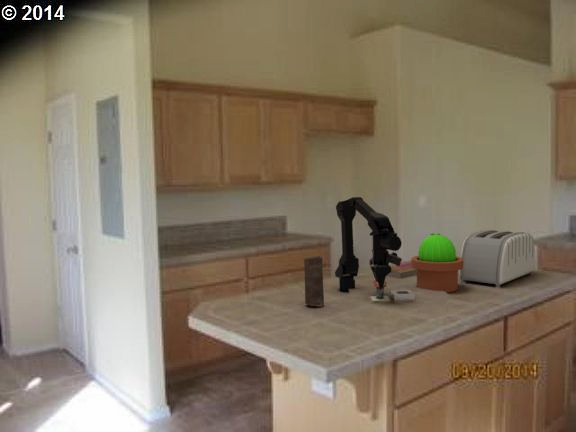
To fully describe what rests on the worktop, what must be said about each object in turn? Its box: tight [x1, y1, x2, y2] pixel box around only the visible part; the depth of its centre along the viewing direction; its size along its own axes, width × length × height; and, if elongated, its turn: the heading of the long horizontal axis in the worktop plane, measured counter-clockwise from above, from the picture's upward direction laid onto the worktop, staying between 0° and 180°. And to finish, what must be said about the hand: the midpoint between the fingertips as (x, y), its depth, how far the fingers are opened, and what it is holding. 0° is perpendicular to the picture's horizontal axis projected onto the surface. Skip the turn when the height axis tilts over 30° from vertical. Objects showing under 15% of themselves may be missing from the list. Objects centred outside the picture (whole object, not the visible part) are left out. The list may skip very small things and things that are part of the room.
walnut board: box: [366, 294, 418, 304], centre depth 215 cm, size 18×13×2 cm
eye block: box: [390, 289, 416, 301], centre depth 215 cm, size 8×8×2 cm
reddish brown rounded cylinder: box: [372, 279, 387, 299], centre depth 215 cm, size 5×5×7 cm
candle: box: [303, 255, 325, 308], centre depth 211 cm, size 8×7×20 cm
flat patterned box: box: [386, 261, 417, 279], centre depth 275 cm, size 35×14×6 cm, turn 129°
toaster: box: [458, 229, 537, 289], centre depth 256 cm, size 21×45×22 cm, turn 135°
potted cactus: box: [410, 233, 464, 294], centre depth 236 cm, size 22×22×25 cm
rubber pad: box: [370, 296, 390, 301], centre depth 215 cm, size 7×7×1 cm
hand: (380, 286), depth 214 cm, fingers open, 7 cm apart
